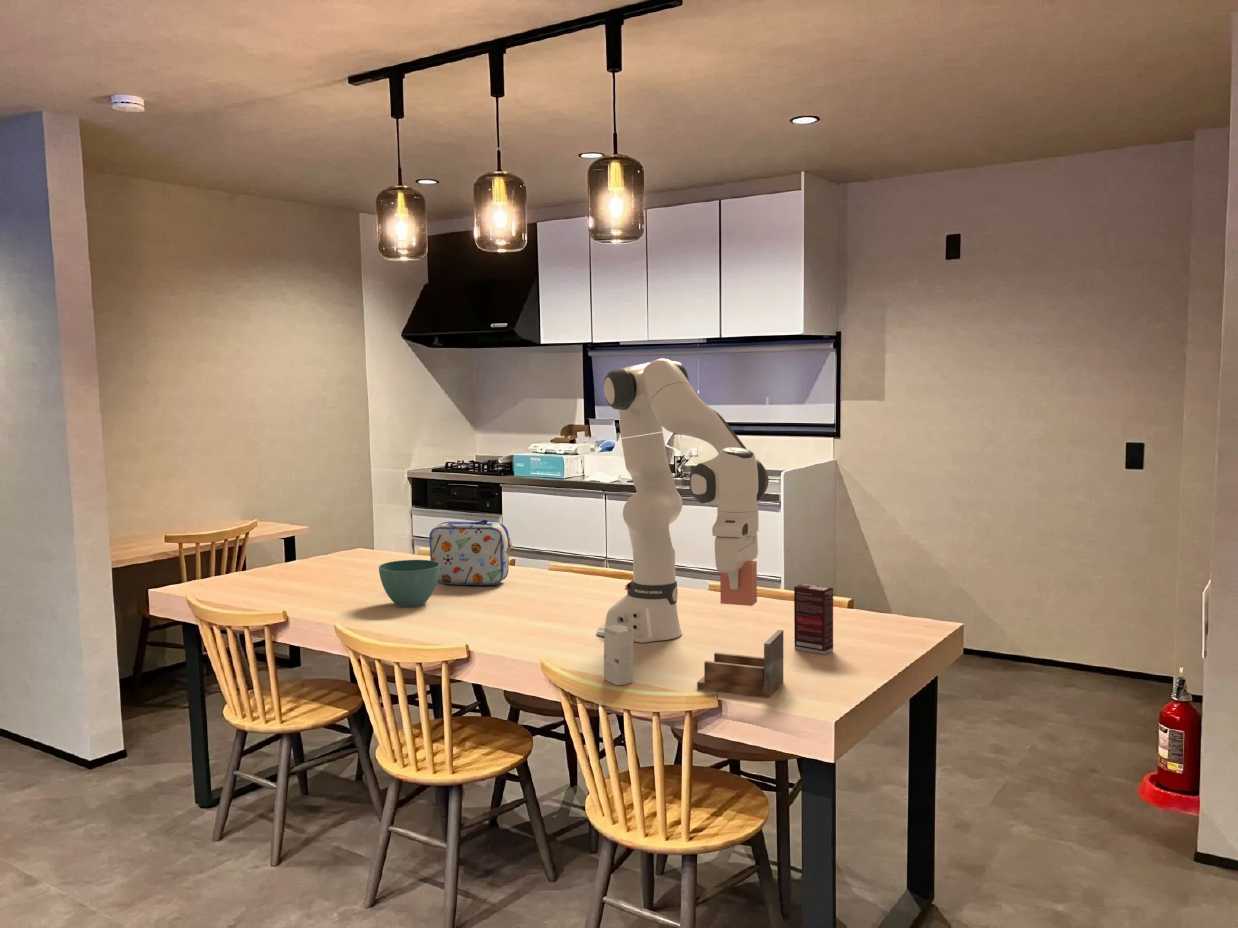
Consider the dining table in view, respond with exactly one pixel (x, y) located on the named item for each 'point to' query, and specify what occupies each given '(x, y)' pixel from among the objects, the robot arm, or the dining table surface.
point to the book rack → (746, 671)
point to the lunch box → (470, 552)
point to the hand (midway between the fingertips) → (738, 586)
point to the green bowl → (409, 581)
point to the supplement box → (813, 618)
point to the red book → (747, 586)
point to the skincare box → (618, 654)
